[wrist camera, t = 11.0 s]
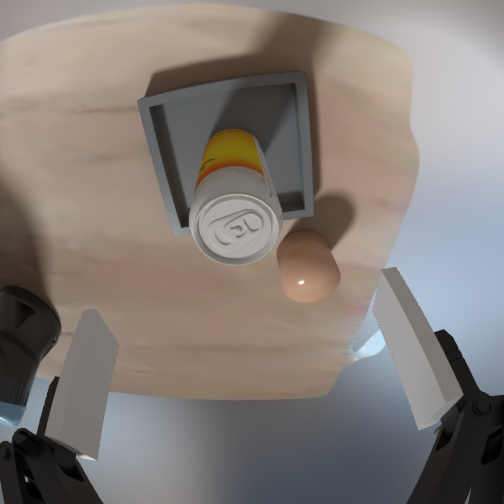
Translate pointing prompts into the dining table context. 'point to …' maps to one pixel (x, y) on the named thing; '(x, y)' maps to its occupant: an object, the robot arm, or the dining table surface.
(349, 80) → the dining table surface
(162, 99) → the tray
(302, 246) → the light brown rounded lump
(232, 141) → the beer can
